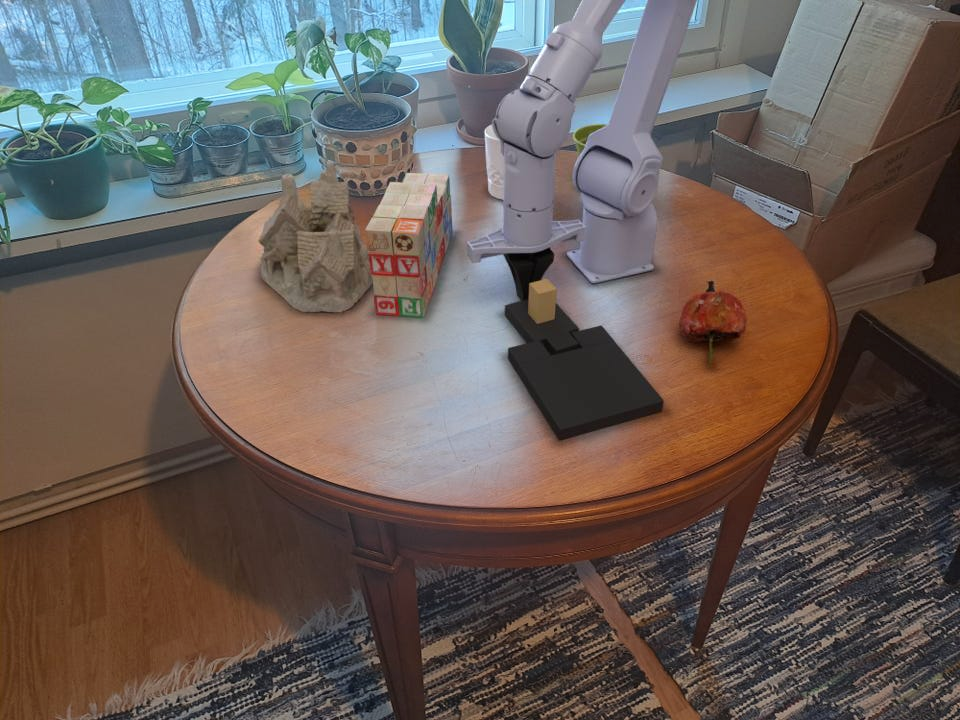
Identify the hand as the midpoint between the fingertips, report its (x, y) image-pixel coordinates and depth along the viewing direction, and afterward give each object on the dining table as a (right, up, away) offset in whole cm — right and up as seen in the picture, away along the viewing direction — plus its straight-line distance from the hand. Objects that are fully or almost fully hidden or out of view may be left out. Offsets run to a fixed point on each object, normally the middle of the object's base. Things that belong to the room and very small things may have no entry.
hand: (524, 297), depth 90 cm
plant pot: (+14, +20, +25) cm, 35 cm away
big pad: (+6, -11, -11) cm, 16 cm away
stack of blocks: (-14, +4, +7) cm, 16 cm away
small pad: (+2, -5, -4) cm, 6 cm away
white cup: (-1, +19, +25) cm, 31 cm away
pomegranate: (+21, -6, -6) cm, 23 cm away
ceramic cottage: (-28, +3, +6) cm, 29 cm away
